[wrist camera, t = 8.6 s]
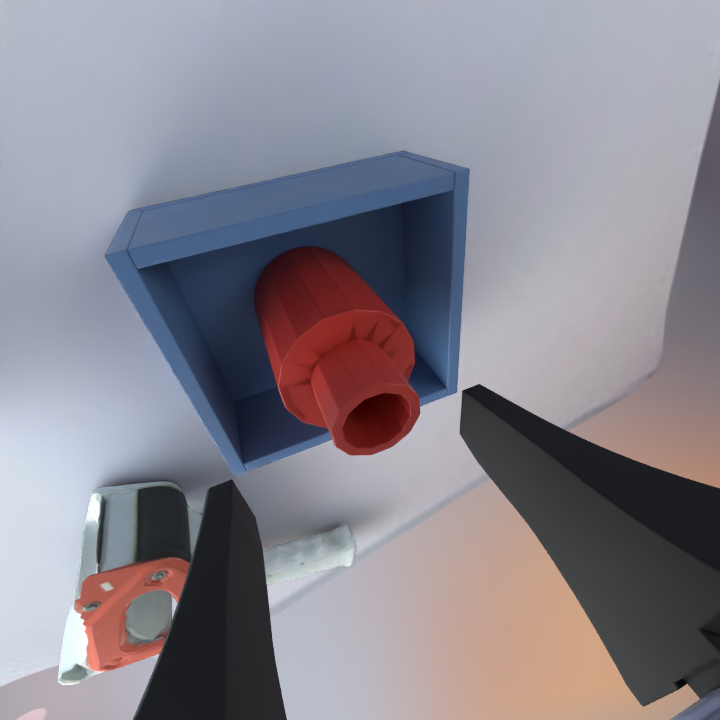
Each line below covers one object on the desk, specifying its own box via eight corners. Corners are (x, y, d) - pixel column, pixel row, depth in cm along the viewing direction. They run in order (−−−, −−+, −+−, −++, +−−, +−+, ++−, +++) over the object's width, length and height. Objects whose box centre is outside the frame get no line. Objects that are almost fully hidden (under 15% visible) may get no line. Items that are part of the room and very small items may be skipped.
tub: (226, 404, 21) (234, 476, 17) (127, 210, 14) (103, 255, 10) (412, 342, 23) (457, 392, 19) (404, 150, 16) (470, 168, 12)
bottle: (271, 354, 19) (315, 498, 12) (238, 262, 16) (273, 389, 9) (361, 325, 20) (449, 444, 13) (348, 233, 17) (454, 329, 10)
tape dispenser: (353, 515, 35) (222, 403, 21) (378, 569, 31) (239, 479, 17) (194, 623, 34) (-56, 584, 20) (200, 693, 30) (-103, 706, 16)
